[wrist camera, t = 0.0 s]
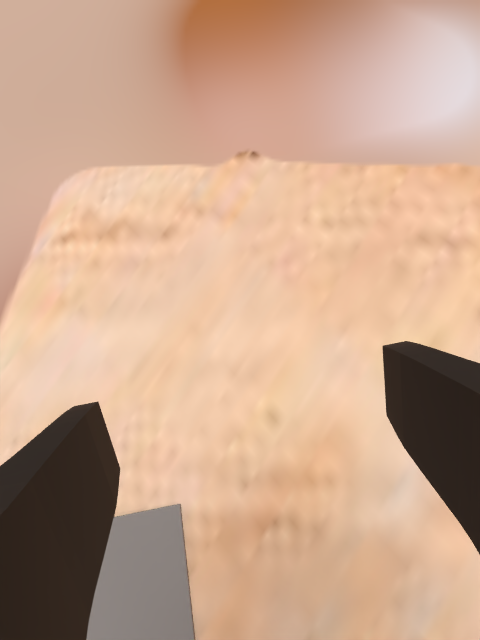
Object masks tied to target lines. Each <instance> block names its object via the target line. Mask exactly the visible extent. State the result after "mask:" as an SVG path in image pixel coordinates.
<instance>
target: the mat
mask: <svg viewBox="0 0 480 640" xmlns="http://www.w3.org/2000/svg"><path fill="white" fill-rule="evenodd" d="M86 640H195V636H194V627H193V618H192V608H191V599H190V590H189V581H188V571H187V562H186V553H185V544H184V534H183V525H182V516H181V507H180V504H177V505H172V506H167V507H162V508H157V509H152V510H147V511H142V512H137V513H133V514H128V515H123V516H118V517H114V518H113V522H112V526H111V530H110V535H109V539H108V543H107V547H106V551H105V554H104V558H103V562H102V566H101V570H100V574H99V578H98V582H97V586H96V590H95V594H94V599H93V603H92V608H91V613H90V618H89V624H88V631H87V638H86Z"/></svg>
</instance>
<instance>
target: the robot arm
mask: <svg viewBox="0 0 480 640" xmlns="http://www.w3.org/2000/svg"><path fill="white" fill-rule="evenodd" d="M383 361H384V379H385V396H386V413H387V417H388V419H389V421H390V423H391V424H392V426H393V428H394V430H395V432H396V434H397V436H398V437H399V439H400V441H401V443H402V445H403V446H404V448H405V449H406V451H407V452H408V454H409V455H410V456H411V458H412V459H413V460H414V462H415V463H416V465H417V466H418V467H419V469H420V470H421V471H422V473H423V474H424V475H425V477H426V478H427V480H428V481H429V482H430V484H431V485H432V486H433V488H434V489H435V490H436V492H437V493H438V494H439V496H440V497H441V498H442V500H443V501H444V502H445V504H446V505H447V506H448V508H449V509H450V510H451V512H452V513H453V514H454V516H455V517H456V518H457V520H458V521H459V523H460V524H461V526H462V527H463V529H464V530H465V531H466V533H467V534H468V536H469V537H470V539H471V540H472V542H473V544H474V546H475V547H476V549H477V551H478V552H479V554H480V363H477V362H474V361H471V360H467V359H464V358H461V357H458V356H455V355H452V354H449V353H446V352H443V351H440V350H437V349H434V348H431V347H427V346H424V345H421V344H417V343H413V342H408V341H405V342H400V343H395V344H390V345H384V346H383ZM119 476H120V467H119V464H118V460H117V457H116V454H115V451H114V448H113V445H112V442H111V439H110V436H109V433H108V430H107V427H106V424H105V421H104V418H103V415H102V412H101V409H100V406H99V403H98V402H94V403H89V404H84V405H78V406H74V407H72V408H71V409H69V410H68V411H66V412H65V413H64V414H62V415H61V416H60V417H59V418H57V419H56V420H55V421H54V422H53V423H51V424H50V425H49V426H48V427H47V428H45V429H44V430H43V431H42V432H41V433H40V434H38V435H37V436H36V437H35V438H34V439H33V440H31V441H30V442H29V443H28V444H27V445H26V446H24V447H23V448H22V449H21V450H20V451H18V452H17V453H16V454H15V455H14V456H12V457H11V458H10V459H9V460H7V461H6V462H5V463H4V464H2V465H1V466H0V640H86V638H87V631H88V624H89V618H90V613H91V608H92V603H93V599H94V594H95V590H96V586H97V582H98V578H99V574H100V570H101V566H102V562H103V558H104V554H105V551H106V547H107V543H108V539H109V535H110V530H111V526H112V522H113V518H114V514H115V509H116V505H117V496H118V487H119Z"/></svg>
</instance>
